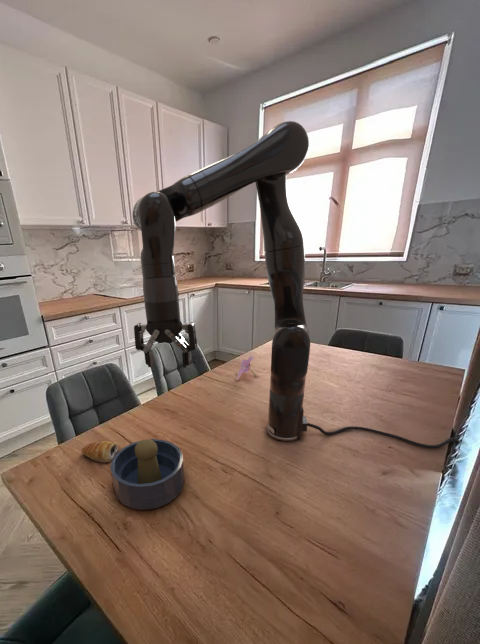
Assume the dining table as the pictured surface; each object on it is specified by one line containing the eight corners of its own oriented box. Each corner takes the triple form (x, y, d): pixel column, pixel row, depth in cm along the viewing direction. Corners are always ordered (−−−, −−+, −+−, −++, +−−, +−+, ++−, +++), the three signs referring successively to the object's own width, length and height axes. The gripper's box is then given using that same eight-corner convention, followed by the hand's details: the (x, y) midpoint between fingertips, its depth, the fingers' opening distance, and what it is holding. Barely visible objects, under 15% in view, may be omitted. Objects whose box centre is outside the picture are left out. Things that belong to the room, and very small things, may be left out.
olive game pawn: (158, 492, 71) (153, 452, 67) (133, 489, 73) (127, 450, 69) (165, 474, 77) (162, 436, 73) (142, 471, 78) (137, 434, 74)
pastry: (78, 460, 84) (75, 448, 83) (90, 445, 90) (88, 434, 89) (110, 464, 82) (108, 452, 81) (120, 448, 88) (119, 437, 87)
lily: (244, 371, 138) (234, 354, 134) (268, 365, 130) (258, 347, 127) (236, 389, 130) (225, 372, 126) (261, 384, 122) (250, 366, 118)
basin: (191, 465, 81) (190, 442, 78) (173, 516, 66) (171, 491, 63) (131, 457, 84) (128, 436, 82) (102, 505, 69) (97, 480, 67)
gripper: (124, 301, 66) (134, 372, 72) (189, 299, 63) (194, 373, 69) (136, 295, 73) (145, 360, 79) (196, 293, 70) (200, 361, 76)
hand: (168, 366), depth 74 cm, fingers open, 8 cm apart
